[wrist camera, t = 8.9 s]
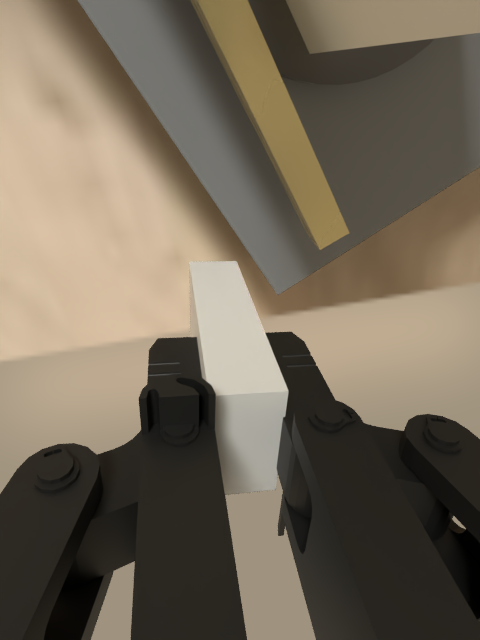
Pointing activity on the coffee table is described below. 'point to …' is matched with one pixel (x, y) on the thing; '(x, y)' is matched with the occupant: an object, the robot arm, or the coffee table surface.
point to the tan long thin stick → (272, 114)
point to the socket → (318, 122)
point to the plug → (356, 34)
